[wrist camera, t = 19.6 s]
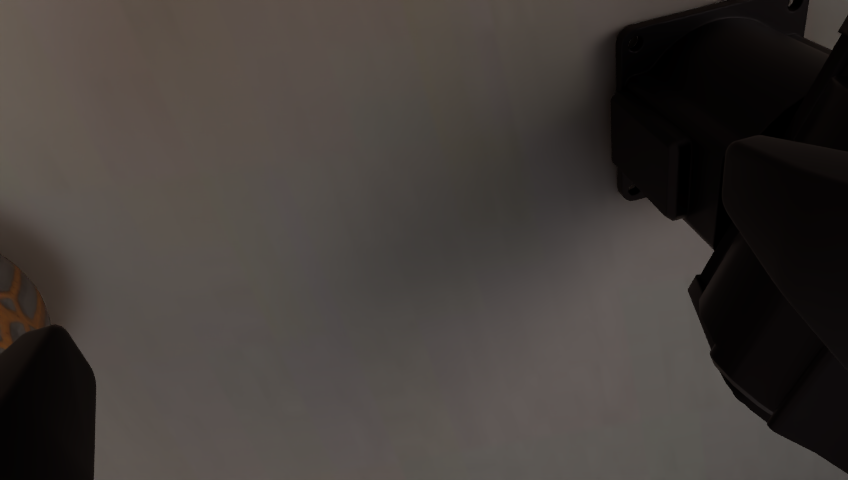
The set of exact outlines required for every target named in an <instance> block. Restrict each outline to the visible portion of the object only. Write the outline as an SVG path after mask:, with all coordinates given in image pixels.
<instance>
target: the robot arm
mask: <svg viewBox="0 0 848 480" xmlns="http://www.w3.org/2000/svg"><path fill="white" fill-rule="evenodd" d="M789 1H790V0H727V1H723V2H719V3H715V4H712V5H708V6H704V7H700V8H696V9H692V10H688V11H684V12H680V13H676V14H672V15H668V16H664V17H660V18H656V19H652V20H648V21H644V22H640V23H636V24H632V25H629V26H627V27H625V28H624V29H623V30H622V31H621V32H620V33H619V35H618V37H617V40H616V92H615V93H614V95H613V97H612V99H611V141H612V162H613V163H614V164H615V165H616V166H617V187H618V191H619V192H620V194H621V195H622V196H623V197H624V198H625V199H626V200H629V201H633V200H638V199H642V198H645V197H647V198H648V199H649V200H650V201H651V202H652V203H653V204H654V205H655V206H656V207H657V209H658V210H659V211H660V212H661V213H662V214H663V215H664V216H666V217H667V218H669V219H671V220H672V221H674V220H678V219H681V218H682V219H683V220H684V221H685V222H686V223H687V224H688V225H689V226H690V227H691V228H692V229H693V230H694V231H695V232H696V233H697V234H698V235H699V236H700V237H701V238H702V239H703V240H704V241H706V242H707V243H708V244H709V245H710V246H711V247H712V248H713V249H714V250H715V251H714V253H713V254H712V256H711V258H710V259H709V261H708V263H707V264H706V266H705V268H704V270H703V271H702V273H701V275H696V276H695V278H694V280H693V281H692V283H691V285H690V286H689V288H688V292H689V295H690V297H691V300H692V302H693V305H694V307H695V310H696V312H697V315H698V318H699V320H700V323H701V325H702V328H703V330H704V333H705V335H706V338H707V340H708V343H709V345H710V348H711V351H710V356H711V358H712V361H713V363H714V365H715V366H716V367H717V369H718V370H719V371H720V373H721V375H722V377H723V378H724V380H725V382H726V384H727V385H728V386H729V388H730V389H731V390H732V392H733V394H734V396H735V397H736V398H737V399H738V400H739V401H741V402H742V403H744V404H745V405H746V406H747V407H748V408H749V409H750V410H751V411H753V412H754V413H755V414H757V415H758V416H759V417H761V418H762V419H763V420H765V421H766V422H767V425H768V426H769V428H770V429H771V430H773V431H774V432H775V433H777V434H779V435H781V436H783V437H785V438H787V439H789V440H791V441H793V442H795V443H797V444H799V445H801V446H803V447H805V448H807V449H809V450H811V451H813V452H815V453H817V454H818V455H820V456H821V457H823V458H824V459H826V460H827V461H829V462H830V463H832V464H833V465H835V466H837V467H838V468H840V469H841V470H843V471H844V472H846V473H847V474H848V15H847V17H846V19H845V21H844V22H843V24H842V26H841V27H840V29H839V31H838V32H839V33H841V36H840V38H839V39H838V41H837V43H836V45H835V46H834V48H833V50H830V49H828V48H826V47H824V46H821V45H819V44H817V43H815V42H812V41H810V40H808V39H806V38H804V31H805V25H806V18H807V11H808V5H809V0H794V1H793V3H792V4H791V5H790V6H789V7H788V3H789ZM635 36H637V37H638V40H637V43H636V44H635V45H634V46H633V47H631V48H629V46H628V45H629V41H630V40H631V39H632V38H633V37H635ZM632 184H634V185H635V187H634V188H632V189H630V190H629V187H630V186H631V185H632ZM95 414H96V380H95V376H94V373H93V371H92V368H91V367H90V365H89V364H88V362H87V361H86V359H85V357H84V356H83V354H82V353H81V351H80V350H79V348H78V347H77V345H76V344H75V342H74V341H73V339H72V338H71V336H70V335H69V333H68V332H67V331H66V330H65V329H64V328H63V327H62V326H58V325H51V326H47V327H43V328H39V329H36V330H32V331H28V332H26V333H24V334H22V335H21V336H20V337H19V338H18V339H17V340H15V341H14V342H13V343H12V344H11V345H10V346H9V347H8V348H7V349H5V350H4V351H3V352H2V353H1V354H0V480H94V454H95Z"/></svg>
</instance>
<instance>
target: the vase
mask: <svg viewBox="0 0 848 480" xmlns="http://www.w3.org/2000/svg"><path fill="white" fill-rule="evenodd" d="M47 326H51V324H50V318H49V315H48V312H47V309H46V306H45V304H44V301H43V299H42V297H41V295H40V293H39V291H38V290H37V288H36V287H35V285H34V284H33V283H32V282H31V280H30V279H29V278H28V277H27V276H26V275H25V274H24V273H23V272H22V271H21V270H20V269H19V268H18V267H17V266H16V265H14V264H13V263H12V262H11V261H9V260H8V259H7V258H5V257H3V256H2V255H0V354H1V353H2V352H3V351H4V350H5V349H7V348H8V347H9V346H10V345H11V344H12V343H13V342H14V341H15V340H17V339H18V338H19V337H20V336H21V335H22V334H24V333H26V332H28V331H32V330H36V329H39V328H43V327H47Z"/></svg>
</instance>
